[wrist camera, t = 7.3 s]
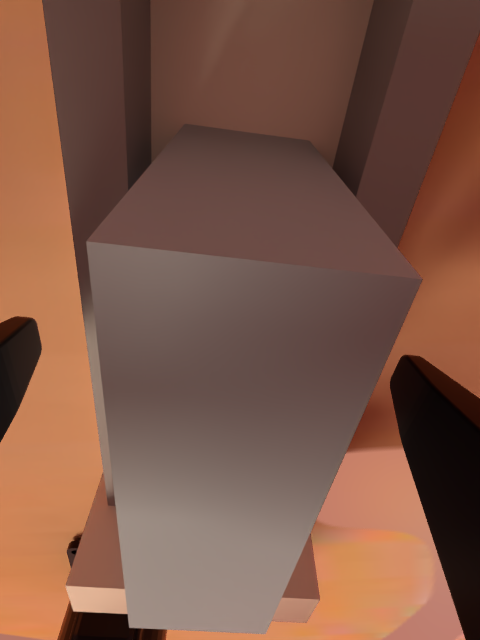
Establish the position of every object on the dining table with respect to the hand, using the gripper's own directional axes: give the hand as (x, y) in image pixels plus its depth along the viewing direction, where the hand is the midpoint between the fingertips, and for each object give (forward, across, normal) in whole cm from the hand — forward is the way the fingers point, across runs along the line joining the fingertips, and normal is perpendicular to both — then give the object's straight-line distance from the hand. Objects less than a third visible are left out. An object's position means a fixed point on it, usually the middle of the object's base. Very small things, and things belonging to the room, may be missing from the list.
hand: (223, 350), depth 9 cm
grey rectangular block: (+3, 0, 0) cm, 3 cm away
